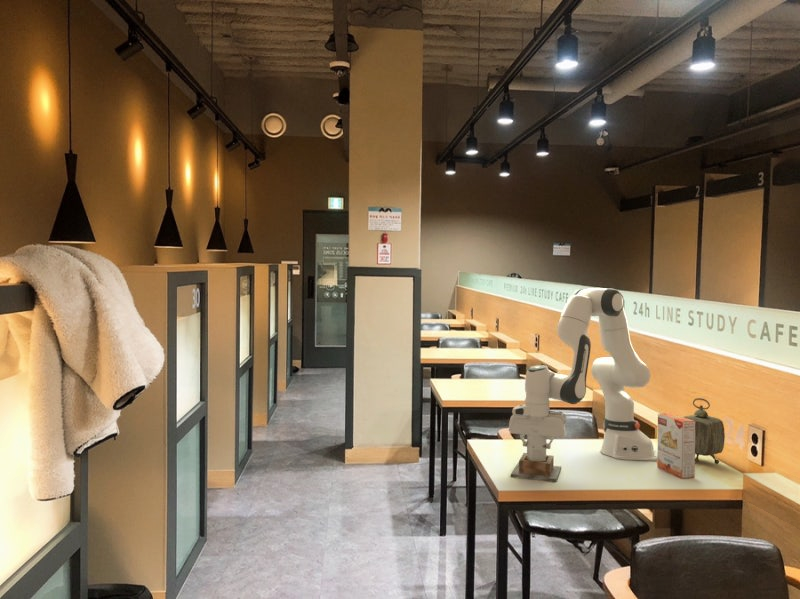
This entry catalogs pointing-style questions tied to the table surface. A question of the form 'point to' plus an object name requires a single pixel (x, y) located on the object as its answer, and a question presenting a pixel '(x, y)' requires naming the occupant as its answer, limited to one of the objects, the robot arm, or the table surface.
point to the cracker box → (676, 445)
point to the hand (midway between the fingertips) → (536, 447)
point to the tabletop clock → (707, 433)
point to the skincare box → (536, 446)
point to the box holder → (536, 469)
